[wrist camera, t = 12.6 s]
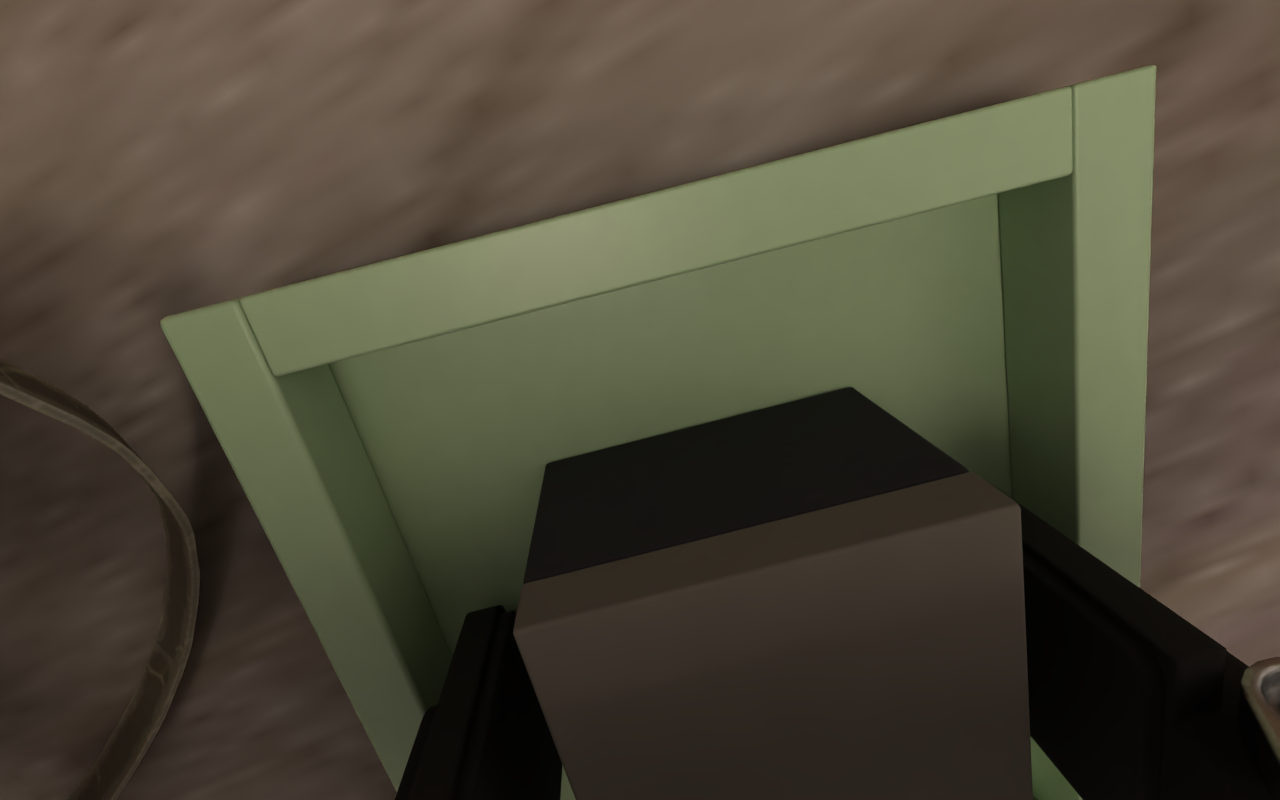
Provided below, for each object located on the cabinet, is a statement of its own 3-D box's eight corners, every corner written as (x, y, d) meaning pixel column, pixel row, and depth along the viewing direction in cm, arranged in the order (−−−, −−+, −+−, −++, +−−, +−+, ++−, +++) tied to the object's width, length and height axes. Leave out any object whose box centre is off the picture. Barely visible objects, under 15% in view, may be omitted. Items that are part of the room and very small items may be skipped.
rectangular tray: (528, 887, 14) (514, 1029, 11) (264, 291, 9) (153, 320, 7) (1039, 762, 14) (1132, 879, 11) (1015, 99, 9) (1158, 62, 7)
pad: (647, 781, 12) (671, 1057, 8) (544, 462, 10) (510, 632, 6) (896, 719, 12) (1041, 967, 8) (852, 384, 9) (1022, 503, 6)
